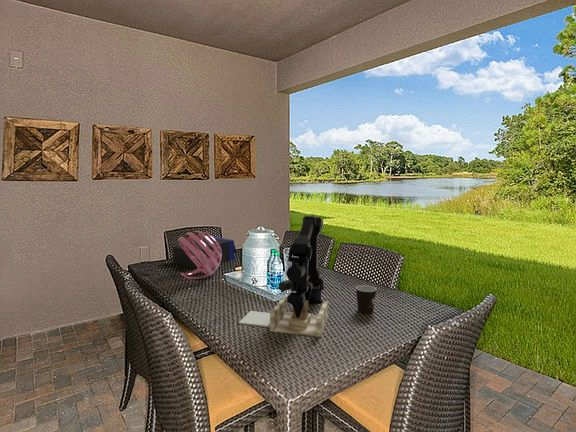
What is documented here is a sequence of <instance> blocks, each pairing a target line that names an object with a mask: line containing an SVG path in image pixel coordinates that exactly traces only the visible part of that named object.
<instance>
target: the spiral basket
mask: <svg viewBox="0 0 576 432" xmlns="http://www.w3.org/2000/svg"><path fill="white" fill-rule="evenodd" d="M185 237H186V238H185ZM185 237H184V236H179V238H178V239H177V243H178V244H179V245H180V246H181V247H182V249H183V250H184V251H185V253H186V254H187V255H188V256H189V258H190V259H191V260H192V261H193V262H194V263H195V264H196V266H197V267H198V268H197V269H193V270H192V271H189V272H186V273H184V272H179V274H180V275H181V276H182V277H184V278H187V279H190V280H202V279H205V278H207V277H210V276H211V275H213V274H214V273H215V272H216V271H217V269H218V268H219V267H220V264H221V263H220V262H221V258H222V251H221V247H220V245H219V244H218V242H217V241H216V240H215V239H214V237H215V236H213V235H211V234H210V233H209V232H207V231H204V232H202V231H200V230H195V231H194V233H193V232H191V231H188V232H186V233H185ZM209 237H211V238H212V239H213V241H214V242H215V243H216V244H214V243H213V242H212V241H211V239H210V238H209ZM203 239H205V240H206V241H207V242H208V243H209V244H210V245H211V246H212V248H213V249H214V251H212V250H211V249H210V248H209V247H208V246H207V245H206V243H205V242H204V241H203ZM194 241H196V242H197V243H198V244H199V245H200V246H201V247H202V249H203V250H204V251H205V252H206V253H207V255H208V256H209V258H207V257H206V256H205V255H204V254H203V252H202V251H201V250H200V249H199V248H198V246H197V245H196V244H195V242H194ZM186 246H187V247H188V248H189V249H190V250H191V251H192V253H193V254H194V255H195V256H196V257H197V258H198V260H199V261H200V262H201V263H202V264H200V263H199V261H198V260H197V259H196V258H195V257H194V256H193V255H192V253H191V252H190V251H189V250H188V248H187V247H186ZM217 246H218V247H219V248H218V247H217ZM216 253H217V255H218V256H217V255H216ZM217 260H218V261H219V263H218V262H217ZM212 262H213V263H212ZM212 269H213V270H212ZM200 272H202V273H204V274H205V275H203V276H200V277H199V276H198V277H192V276H193V275H196V274H198V273H200ZM190 276H191V277H190Z"/></svg>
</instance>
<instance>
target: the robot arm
mask: <svg viewBox="0 0 576 432" xmlns="http://www.w3.org/2000/svg"><path fill="white" fill-rule="evenodd" d="M323 228H324V219H322V218H321V217H320V216H314V215H305V216H303V217H302V224H301V228H300V231H299V234H298V237H296V238H295V239H293V241H292V243H291V244H290V246H289V247H290V248H289V253H288V259H287V262H291V265H290V266H289V267H288V268H287V271H286V277H287V280H282V281H280V283H279V284H278V288H277V289H278V290H279V291H280V293H285V292H287V291H291V292H290V293H289V294H288V296H286V297H287V304H289V305H291V306H292V309H293V308H294V311H295V315H296V317H297V318H299V317H300V314H301V311H302V309H303V306H304V304H305V300H308V305H315V304H321V303H322V304H323V300H322V291H324V290H325V283H324V280H323V279H324V278H323V277H322V272H321V270H320V268H319V267H318V266H319V259H318V258H319V235H320V234H321V233H322V230H323Z"/></svg>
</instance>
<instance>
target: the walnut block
mask: <svg viewBox="0 0 576 432" xmlns="http://www.w3.org/2000/svg"><path fill="white" fill-rule="evenodd" d="M292 313H293V319H301V320H306V318H307V316H308V313H309V303H308V300H305V304H304V306H303V309H302V311H301V314H300V317H299V318H297V317H296V315H295V311H294V308H293V307H292Z"/></svg>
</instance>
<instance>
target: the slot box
mask: <svg viewBox="0 0 576 432" xmlns="http://www.w3.org/2000/svg"><path fill="white" fill-rule="evenodd" d="M287 297H288V296H282V298H281V299H280V301H278V303H277V304H276V305H275V306H274V308H273V309H272V310H271V311H270V312H269V313H270V325H269V331H270V332H275V333H284V334H291V335H299V336H308V337H314V338H315V337H317V338H322V335H323V332H324V329H325V327H326V324H327V322H328V318H329V301H328V300H324V301H323V302H322V305H321V307H320V310H319V312H318V314H312V313H311V312H308V316H307V318H306V320H301V319H293V311H292V312H291V311H288V302H287Z"/></svg>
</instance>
